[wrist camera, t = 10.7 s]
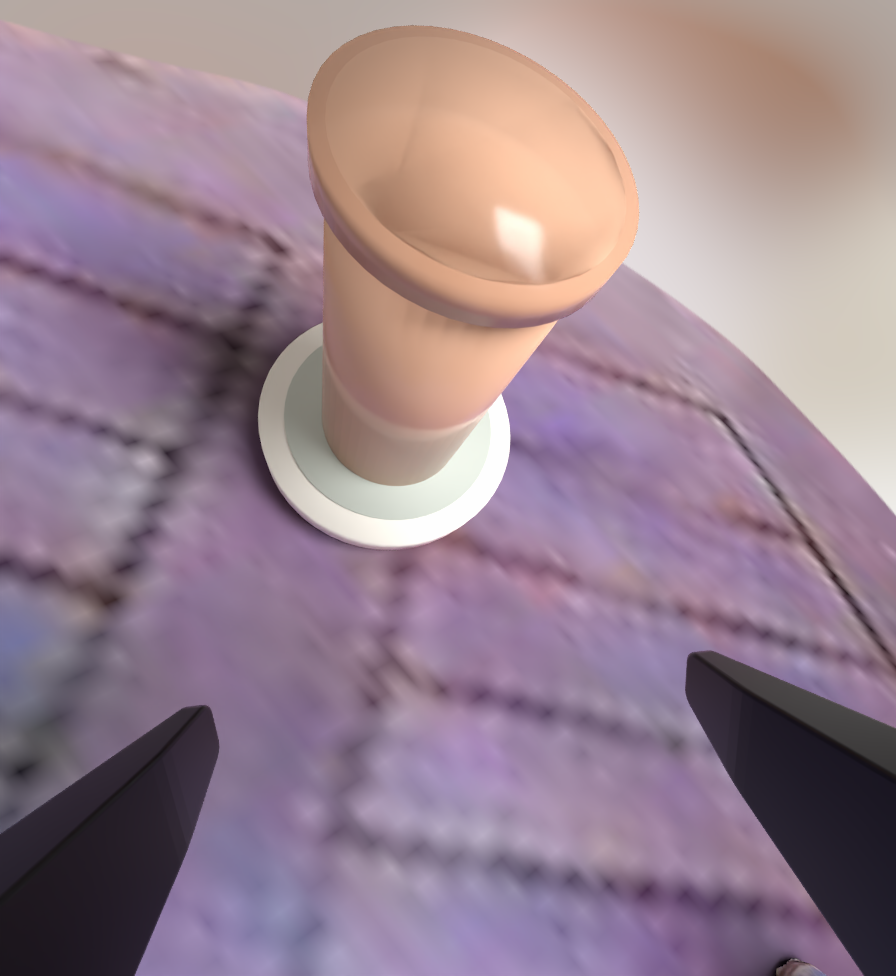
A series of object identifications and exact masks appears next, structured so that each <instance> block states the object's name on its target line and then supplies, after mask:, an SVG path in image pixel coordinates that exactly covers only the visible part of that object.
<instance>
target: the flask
mask: <svg viewBox="0 0 896 976" xmlns="http://www.w3.org/2000/svg"><path fill="white" fill-rule="evenodd" d="M795 961H799V962H795ZM801 962H802V961H800V960H798V959H791V960H789V962H787V965H783V967H779V968H777V969H776V975H777V976H827V975H825V974H824V973H823V972H821V971H820V970H819V969H817V968H816V967H815V966H813V965H811V964H809V963H805V962H802V963H801Z"/></svg>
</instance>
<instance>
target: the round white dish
mask: <svg viewBox="0 0 896 976" xmlns="http://www.w3.org/2000/svg"><path fill="white" fill-rule="evenodd" d="M322 350H323V323H321V324H318V325H316V326H314V327H312V328H311V329H309V330H308V331H306V332H305V333H303V334H301V335H300V336H299V337H298V338H296V339H295V340H294V341H293V342H292V343H291V344H289V345H288V346H287V348H286V349H285V350H284V351H283V352H282V353H281V354H280V356H279V357H278V358H277V360H276V361H275V363H274V365H273V366H272V368H271V369H270V371H269V373H268V376H267V378H266V380H265V383H264V385H263V389H262V393H261V396H260V401H259V411H258V426H259V436H260V440H261V445H262V450H263V453H264V456H265V459H266V462H267V465H268V467H269V470H270V473H271V476H272V478H273V480H274V482H275V483H276V485H277V487H278V489H279V491H280V492H281V494H282V495H283V496H284V498H285V499H286V500H287V502H288V503H289V504H290V506H291V507H292V508H293V509H294V510H295V511H296V512H297V513H298V514H299V515H300V516H301V517H302V518H304V519H305V520H306V521H307V522H309V523H310V524H311V525H313V526H314V527H315V528H317V529H319V530H320V531H322V532H324V533H325V534H327V535H329V536H331V537H333V538H335V539H338V540H340V541H342V542H345V543H348V544H351V545H355V546H359V547H362V548H369V549H376V550H401V549H410V548H415V547H418V546H422V545H426V544H429V543H431V542H434V541H436V540H439V539H441V538H443V537H445V536H446V535H448V534H450V533H452V532H453V531H455V530H456V529H458V528H459V527H460V526H462V525H463V524H465V523H466V522H467V521H468V520H470V519H471V518H472V517H474V516H475V515H476V514H477V513H478V512H479V511H480V510H481V509H482V508H483V507H484V506H485V505H486V504H487V502H488V501H489V500H490V498H491V497H492V495H493V494H494V493H495V491H496V489H497V487H498V485H499V483H500V481H501V479H502V477H503V474H504V471H505V468H506V465H507V461H508V456H509V449H510V427H509V420H508V415H507V410H506V407H505V404H504V401H503V398H502V395H500V396H499V397H498V398H497V400H496V401H495V402H494V404H493V405H492V406H491V407H490V409H489V410H488V411H487V413H486V414H485V415H484V416H483V418H482V419H481V420H480V422H479V423H478V424H477V426H476V427H475V428H474V429H473V431H472V432H471V433H470V435H469V436H468V437H467V438H466V440H465V441H464V442H463V444H462V445H461V446H460V448H459V449H458V450H457V451H456V453H455V454H454V455H453V457H452V458H451V459H450V460H449V462H448V463H447V464H446V465H445V467H444V468H442V469H441V470H440V471H439V472H438V473H437V474H435V475H434V476H432V477H430V478H428V479H427V480H425V481H422V482H419V483H416V484H412V485H407V486H387V485H381V484H377V483H374V482H371V481H368V480H366V479H364V478H361V477H360V476H358V475H356V474H355V473H353V472H352V471H350V470H349V469H348V468H346V467H345V466H344V465H343V464H342V463H341V462H340V461H339V460H338V459H337V457H336V456H335V455H334V453H333V452H332V450H331V448H330V447H329V445H328V443H327V440H326V438H325V435H324V431H323V426H322Z"/></svg>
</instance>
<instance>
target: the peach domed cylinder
mask: <svg viewBox="0 0 896 976" xmlns="http://www.w3.org/2000/svg"><path fill="white" fill-rule="evenodd" d="M307 145H308V167H309V177H310V181H311V185H312V189H313V193H314V196H315V199H316V201H317V204H318V206H319V208H320V210H321V213H322V215H323V217H324V259H323V350H322V426H323V431H324V435H325V438H326V440H327V443H328V445H329V447H330V448H331V450H332V452H333V453H334V455H335V456H336V457H337V459H338V460H339V461H340V462H341V463H342V464H343V465H344V466H345V467H346V468H348V469H349V470H350V471H352V472H353V473H355V474H356V475H358V476H360V477H361V478H364V479H366V480H368V481H371V482H374V483H377V484H381V485H387V486H407V485H412V484H416V483H419V482H422V481H425V480H427V479H428V478H430V477H432V476H434V475H435V474H437V473H438V472H439V471H440V470H441V469H442V468H444V467H445V465H446V464H447V463H448V462H449V460H450V459H451V458H452V457H453V455H454V454H455V453H456V451H457V450H458V449H459V448H460V446H461V445H462V444H463V442H464V441H465V440H466V438H467V437H468V436H469V435H470V433H471V432H472V431H473V429H474V428H475V427H476V426H477V424H478V423H479V422H480V420H481V419H482V418H483V416H484V415H485V414H486V413H487V411H488V410H489V409H490V407H491V406H492V405H493V404H494V402H495V401H496V400H497V398H498V397H499V396H500V395H501V393H502V392H503V391H504V389H505V388H506V387H507V385H508V384H509V383H510V382H511V380H512V379H513V378H514V376H515V375H516V374H517V373H518V371H519V370H520V369H521V367H522V366H523V365H524V363H525V362H526V361H527V360H528V358H529V357H530V356H531V354H532V353H533V352H534V351H535V349H536V348H537V347H538V345H539V344H540V343H541V342H542V340H543V339H544V338H545V336H546V335H547V334H548V332H549V331H550V330H551V329H552V327H553V326H554V325H555V323H556V322H557V321H558V320H559V319H562V318H564V317H567V316H569V315H571V314H572V313H574V312H576V311H577V310H579V309H580V308H582V307H583V306H584V305H585V304H587V303H588V302H589V301H590V300H591V299H592V298H593V297H594V296H595V295H596V294H597V293H598V291H599V290H600V289H601V288H602V287H603V285H604V284H605V283H606V282H607V281H608V279H609V278H610V277H611V276H612V275H613V273H614V272H615V271H616V270H617V268H618V267H619V266H620V265H621V263H622V262H623V261H624V259H625V258H626V257H627V255H628V253H629V251H630V249H631V247H632V245H633V243H634V239H635V236H636V233H637V229H638V220H639V202H638V194H637V189H636V184H635V180H634V177H633V174H632V171H631V168H630V165H629V163H628V161H627V159H626V157H625V155H624V153H623V150H622V149H621V147H620V145H619V144H618V142H617V140H616V139H615V137H614V135H613V134H612V132H611V131H610V130H609V128H608V127H607V126H606V124H605V123H604V121H603V120H602V119H601V118H600V117H599V115H597V113H596V112H595V111H594V110H593V109H592V107H591V106H590V105H589V104H587V102H586V101H585V100H584V99H583V98H581V96H580V95H578V93H577V92H575V91H574V90H573V89H572V88H571V87H569V86H568V85H567V84H566V83H565V82H563V81H562V80H561V79H560V78H558V77H557V76H555V75H554V74H553V73H551V72H550V71H549V70H547V69H546V68H544V67H543V66H541V65H539V64H538V63H536V62H534V61H533V60H531V59H529V58H528V57H526V56H524V55H522V54H520V53H518V52H516V51H514V50H512V49H510V48H508V47H506V46H503V45H501V44H499V43H496V42H494V41H491V40H489V39H486V38H483V37H479V36H477V35H473V34H470V33H466V32H461V31H457V30H453V29H447V28H440V27H433V26H414V25H411V26H397V27H390V28H384V29H379V30H375V31H372V32H369V33H366V34H364V35H360V36H358V37H356V38H354V39H353V40H351V41H349V42H347V43H345V44H344V45H342V46H341V47H340V48H339V49H337V50H336V51H335V52H334V53H332V54H331V55H330V56H329V58H328V59H327V60H326V61H325V62H324V64H323V65H322V66H321V67H320V69H319V71H318V73H317V75H316V77H315V78H314V80H313V84H312V87H311V90H310V93H309V97H308V107H307Z"/></svg>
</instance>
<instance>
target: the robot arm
mask: <svg viewBox="0 0 896 976" xmlns="http://www.w3.org/2000/svg"><path fill="white" fill-rule="evenodd" d="M685 691H686V697H687V700H688V702H689V704H690V706H691V708H692V710H693V712H694V713H695V715H696V717H697V719H698V721H699V722H700V724H701V726H702V728H703V730H704V731H705V733H706V735H707V737H708V739H709V740H710V742H711V744H712V746H713V748H714V749H715V751H716V753H717V755H718V757H719V758H720V760H721V762H722V764H723V766H724V767H725V769H726V771H727V773H728V774H729V776H730V778H731V779H732V781H733V783H734V784H735V786H736V787H737V789H738V791H739V792H740V794H741V795H742V797H743V798H744V800H745V801H746V803H747V804H748V806H749V807H750V808H751V810H752V811H753V813H754V814H755V816H756V817H757V819H758V820H759V822H760V823H761V825H762V826H763V828H764V829H765V831H766V832H767V834H768V835H769V836H770V838H771V839H772V841H773V842H774V844H775V845H776V847H777V848H778V850H779V851H780V853H781V854H782V856H783V857H784V859H785V860H786V862H787V863H788V865H789V866H790V867H791V869H792V870H793V872H794V873H795V875H796V876H797V878H798V879H799V881H800V882H801V884H802V885H803V887H804V888H805V890H806V891H807V893H808V894H809V895H810V897H811V898H812V900H813V901H814V903H815V904H816V906H817V907H818V909H819V910H820V912H821V913H822V915H823V916H824V918H825V919H826V921H827V922H828V923H829V925H830V926H831V928H832V929H833V931H834V932H835V934H836V935H837V937H838V938H839V940H840V941H841V943H842V944H843V946H844V947H845V949H846V950H847V952H848V953H849V954H850V956H851V957H852V959H853V960H854V962H855V963H856V965H857V966H858V968H859V969H860V971H861V972H862V974H863V975H864V976H896V728H894V727H892V726H889V725H887V724H885V723H882V722H880V721H877V720H875V719H873V718H870V717H868V716H866V715H863V714H861V713H858V712H856V711H854V710H851V709H849V708H847V707H844V706H842V705H840V704H837V703H835V702H832V701H830V700H828V699H825V698H823V697H821V696H818V695H816V694H814V693H811V692H809V691H806V690H804V689H802V688H799V687H797V686H795V685H792V684H790V683H787V682H785V681H783V680H780V679H778V678H776V677H773V676H771V675H769V674H766V673H764V672H761V671H759V670H757V669H754V668H752V667H750V666H747V665H745V664H743V663H740V662H738V661H735V660H733V659H731V658H728V657H726V656H724V655H721V654H719V653H717V652H714V651H699V652H692V653H690V654H689V655H688V658H687V668H686V685H685ZM218 753H219V739H218V735H217V731H216V727H215V723H214V719H213V714H212V711H211V709H210V707H209V706H207V705H199V706H190V707H185V708H182V709H181V710H179V711H178V712H176V713H175V714H174V715H172V716H171V717H169V718H168V719H166V720H165V721H163V722H162V723H161V724H159V725H158V726H156V727H155V728H153V729H152V730H150V731H149V732H147V733H146V734H145V735H143V736H142V737H140V738H139V739H137V740H136V741H134V742H133V743H132V744H130V745H129V746H127V747H126V748H124V749H123V750H121V751H120V752H119V753H117V754H116V755H114V756H113V757H111V758H110V759H108V760H107V761H105V762H104V763H103V764H101V765H100V766H98V767H97V768H95V769H94V770H92V771H91V772H90V773H88V774H87V775H85V776H84V777H82V778H81V779H79V780H78V781H76V782H75V783H74V784H72V785H71V786H69V787H68V788H66V789H65V790H63V791H62V792H61V793H59V794H58V795H56V796H55V797H53V798H52V799H50V800H49V801H48V802H46V803H45V804H43V805H42V806H40V807H39V808H37V809H36V810H34V811H33V812H32V813H30V814H29V815H27V816H26V817H24V818H23V819H21V820H20V821H19V822H17V823H16V824H14V825H13V826H11V827H10V828H8V829H7V830H5V831H4V832H3V833H1V834H0V976H135V973H136V971H137V969H138V966H139V964H140V962H141V959H142V957H143V954H144V952H145V950H146V947H147V945H148V943H149V940H150V938H151V936H152V933H153V931H154V928H155V926H156V924H157V921H158V919H159V917H160V914H161V912H162V910H163V907H164V905H165V903H166V900H167V898H168V895H169V893H170V891H171V888H172V886H173V884H174V881H175V879H176V877H177V874H178V872H179V869H180V867H181V865H182V862H183V860H184V857H185V855H186V852H187V850H188V847H189V844H190V841H191V838H192V835H193V832H194V829H195V826H196V823H197V820H198V817H199V814H200V811H201V808H202V804H203V801H204V798H205V795H206V792H207V789H208V786H209V783H210V779H211V776H212V773H213V770H214V767H215V764H216V761H217V758H218Z"/></svg>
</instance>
